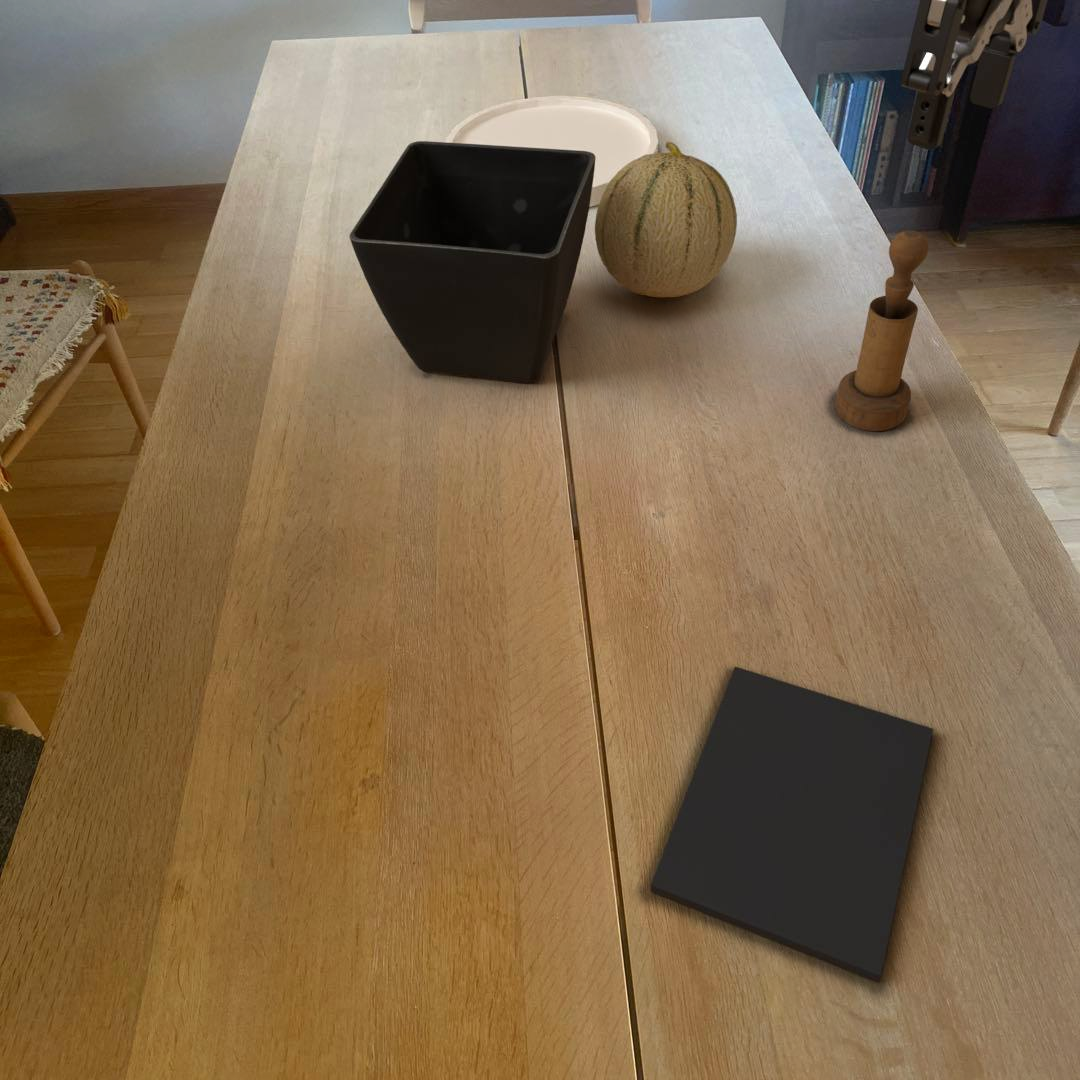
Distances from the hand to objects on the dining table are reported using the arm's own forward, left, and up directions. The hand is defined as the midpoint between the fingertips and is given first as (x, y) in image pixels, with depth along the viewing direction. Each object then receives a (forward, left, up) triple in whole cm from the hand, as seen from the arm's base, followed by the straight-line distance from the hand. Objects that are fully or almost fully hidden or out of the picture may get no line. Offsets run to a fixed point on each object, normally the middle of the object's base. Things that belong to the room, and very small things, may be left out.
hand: (954, 124), depth 71 cm
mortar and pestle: (+1, -3, -28) cm, 29 cm away
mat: (-3, +40, -28) cm, 49 cm away
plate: (+50, -40, -28) cm, 70 cm away
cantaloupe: (+26, -16, -28) cm, 42 cm away
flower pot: (+39, 0, -28) cm, 48 cm away
